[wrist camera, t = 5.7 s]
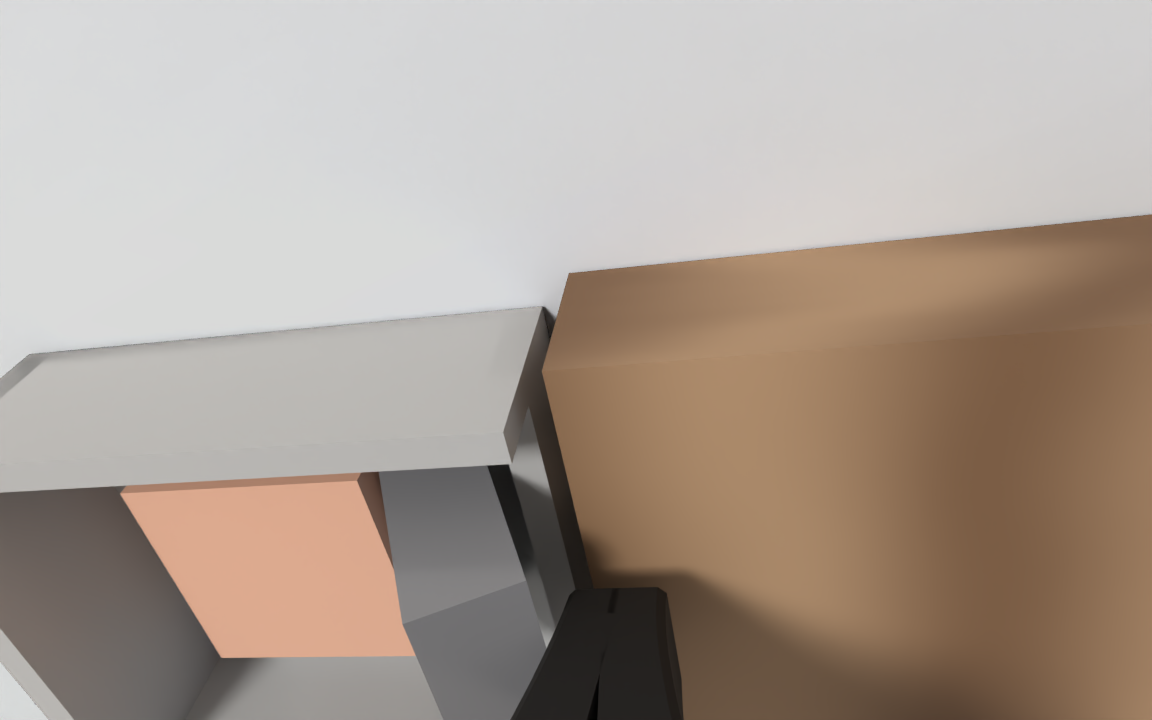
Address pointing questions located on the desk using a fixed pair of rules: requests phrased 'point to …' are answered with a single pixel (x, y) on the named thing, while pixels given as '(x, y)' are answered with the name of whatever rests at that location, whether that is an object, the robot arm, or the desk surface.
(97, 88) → the desk surface
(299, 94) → the desk surface
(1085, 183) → the desk surface
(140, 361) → the tray
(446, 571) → the tile charcoal
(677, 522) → the walnut board
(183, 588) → the tile terracotta
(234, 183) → the desk surface
